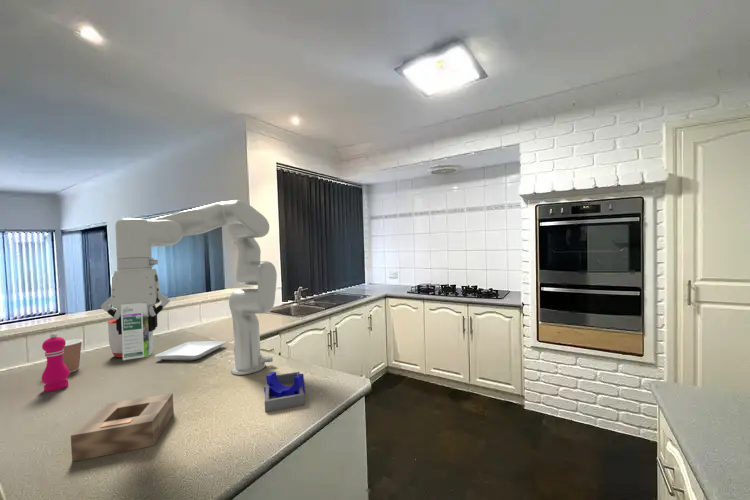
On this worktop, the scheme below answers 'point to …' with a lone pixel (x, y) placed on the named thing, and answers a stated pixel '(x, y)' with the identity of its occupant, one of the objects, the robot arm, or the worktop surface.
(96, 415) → the socket block
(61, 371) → the pepper mill
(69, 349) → the coffee cup
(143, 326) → the syrup box
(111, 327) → the citrus juicer
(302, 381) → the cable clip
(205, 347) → the salad plate
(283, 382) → the clip frame
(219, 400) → the worktop surface
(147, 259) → the robot arm
